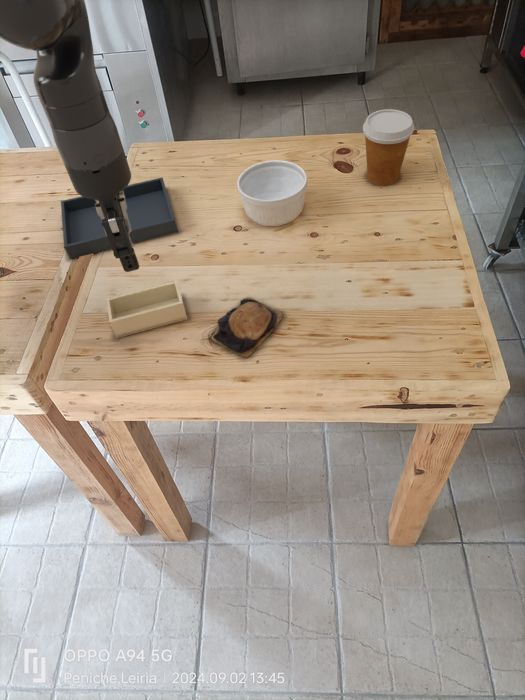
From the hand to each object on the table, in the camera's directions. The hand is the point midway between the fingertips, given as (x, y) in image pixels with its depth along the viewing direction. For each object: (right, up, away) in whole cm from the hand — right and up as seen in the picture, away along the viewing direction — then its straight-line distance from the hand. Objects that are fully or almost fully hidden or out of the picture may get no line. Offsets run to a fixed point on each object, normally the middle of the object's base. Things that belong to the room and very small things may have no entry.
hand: (128, 250), depth 78 cm
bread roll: (+17, -11, +8) cm, 22 cm away
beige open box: (+1, -9, +11) cm, 15 cm away
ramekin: (+22, +13, +27) cm, 37 cm away
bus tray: (-9, +11, +29) cm, 32 cm away
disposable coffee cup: (+45, +21, +31) cm, 58 cm away
